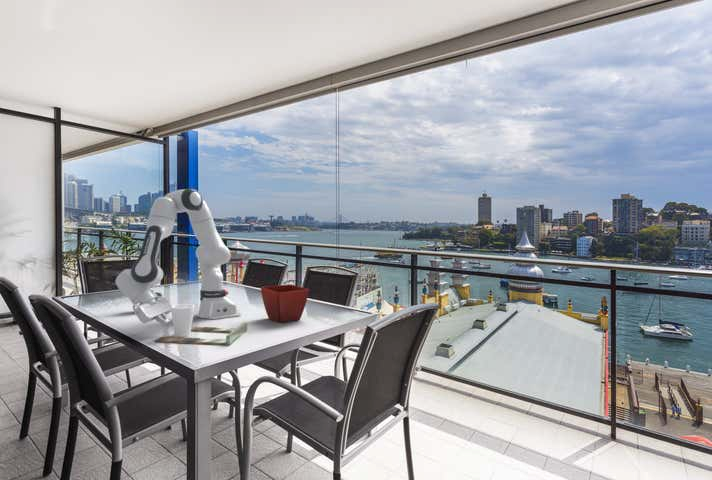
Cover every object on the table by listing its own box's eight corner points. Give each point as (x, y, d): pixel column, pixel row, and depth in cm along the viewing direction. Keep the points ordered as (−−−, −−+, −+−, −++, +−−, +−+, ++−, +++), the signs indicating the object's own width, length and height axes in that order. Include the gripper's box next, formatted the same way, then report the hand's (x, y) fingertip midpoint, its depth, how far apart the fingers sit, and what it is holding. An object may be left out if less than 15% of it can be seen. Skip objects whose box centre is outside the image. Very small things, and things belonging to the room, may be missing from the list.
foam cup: (175, 332, 171) (176, 303, 170) (196, 332, 171) (197, 304, 171) (166, 338, 161) (167, 308, 161) (189, 338, 162) (189, 308, 162)
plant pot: (277, 325, 188) (277, 292, 187) (259, 318, 202) (260, 286, 201) (308, 320, 200) (309, 289, 200) (290, 313, 215) (290, 284, 214)
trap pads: (181, 341, 155) (181, 340, 155) (204, 327, 177) (204, 326, 177) (195, 341, 155) (195, 341, 155) (216, 327, 177) (216, 327, 177)
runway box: (154, 342, 156) (155, 332, 155) (181, 328, 178) (181, 319, 177) (229, 345, 155) (230, 335, 154) (247, 330, 177) (247, 322, 176)
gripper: (136, 300, 156) (158, 324, 156) (163, 292, 176) (183, 313, 176) (125, 310, 156) (148, 335, 156) (153, 301, 177) (173, 322, 177)
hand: (166, 323), depth 166 cm, fingers closed
